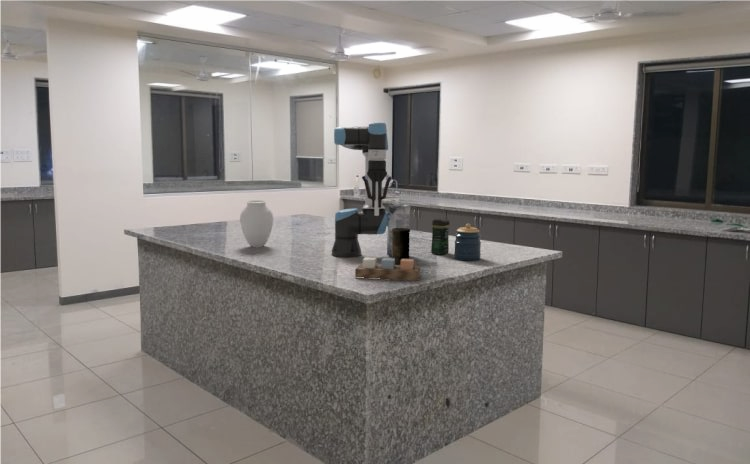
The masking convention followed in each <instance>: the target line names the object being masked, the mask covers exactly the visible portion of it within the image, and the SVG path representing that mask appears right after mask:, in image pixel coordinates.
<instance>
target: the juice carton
mask: <svg viewBox="0 0 750 464" xmlns="http://www.w3.org/2000/svg"><path fill="white" fill-rule="evenodd" d="M387 212H388V219H387V237H386V239H387V241H386V242H387V243H386V245H387V246H386V255H387V256H391V257H392V237H393V234H392V233H393V232H392V229H393V228H408V229H410V216H411V214H410V213H411V205H410V204H401V203H400V201H395V202H394V201H393V204H388V205H387Z"/></svg>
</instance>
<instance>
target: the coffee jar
mask: <svg viewBox="0 0 750 464" xmlns="http://www.w3.org/2000/svg"><path fill="white" fill-rule="evenodd" d="M431 231H432V233H431V235H432V237H431V249H430V252H431V254H433V255H446V254H449V252H450V251H449V248H450V247H449V245H450V244H449V238H450V237H449V236H450V235H449V234H450V233H449V231H450V219H448V218H446V217H438V218H434V219H433V220H432V222H431Z"/></svg>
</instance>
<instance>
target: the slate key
mask: <svg viewBox="0 0 750 464" xmlns="http://www.w3.org/2000/svg"><path fill="white" fill-rule="evenodd" d="M381 265H382V267H381V269H395V258H392V257H391V258H389V257H383V258H382V259H381Z"/></svg>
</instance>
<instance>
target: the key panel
mask: <svg viewBox="0 0 750 464" xmlns="http://www.w3.org/2000/svg"><path fill="white" fill-rule="evenodd" d="M400 266H401V265H395V269H381V267H382V264H378V263H376V268H363V263H359V265H358V266H356V267H355V277H364V278H380V279H379V280H384V279H393V280H392V281H407V280H410V281H411V282H412V281H413V282H418V280H419V278H420V276H421V266H420V265H414V270H402V269H400ZM410 281H409V282H410Z"/></svg>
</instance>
